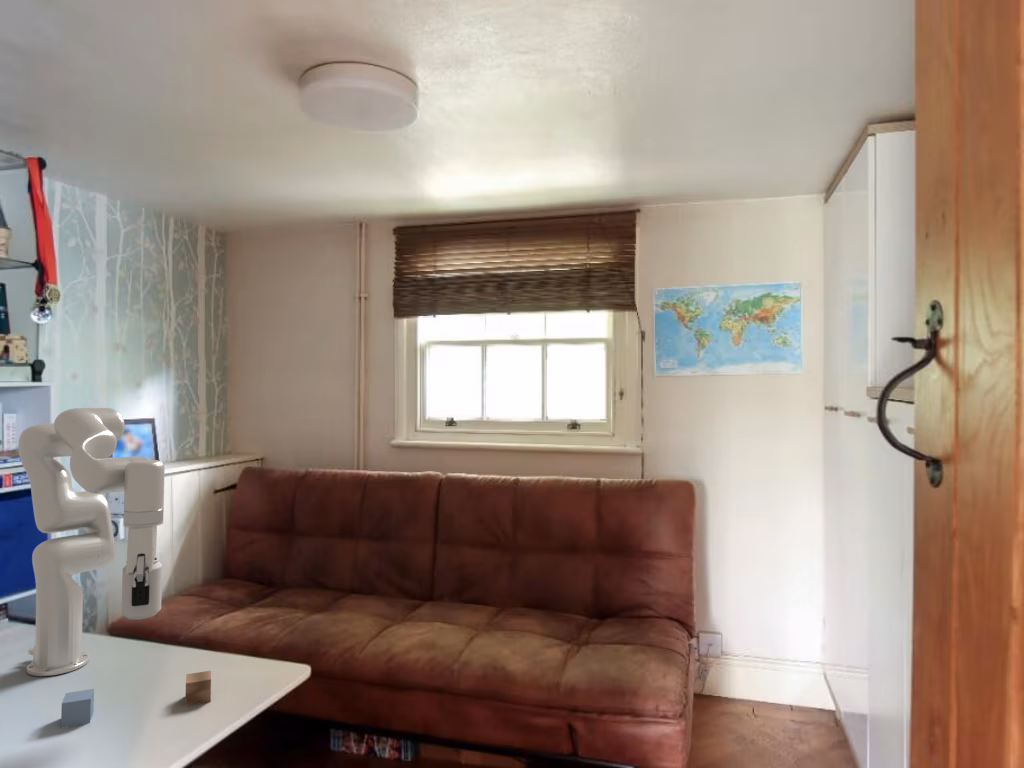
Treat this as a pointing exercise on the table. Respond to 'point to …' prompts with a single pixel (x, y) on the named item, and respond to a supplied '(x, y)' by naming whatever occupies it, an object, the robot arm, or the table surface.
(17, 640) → the table surface
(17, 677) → the table surface
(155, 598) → the can
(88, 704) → the slate block
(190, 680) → the walnut block
